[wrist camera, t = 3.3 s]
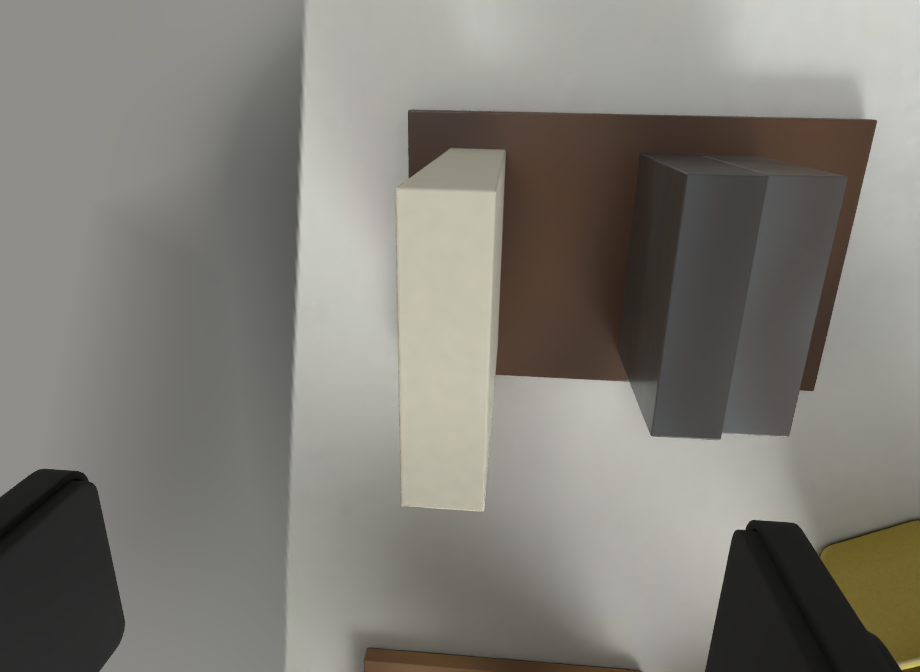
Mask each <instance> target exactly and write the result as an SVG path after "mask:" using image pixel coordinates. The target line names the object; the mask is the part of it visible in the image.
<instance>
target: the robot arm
mask: <svg viewBox="0 0 920 672" xmlns="http://www.w3.org/2000/svg"><path fill="white" fill-rule="evenodd" d="M124 627H125V619H124V615H123V610H122V605H121V600H120V596H119V591H118V586H117V581H116V576H115V571H114V567H113V562H112V558H111V552H110V548H109V543H108V538H107V534H106V529H105V524H104V519H103V514H102V510H101V505H100V500H99V496H98V491H97V488H96V486H95V485H94V484H93V483H91V482H89V481H88V478H87V477H86V476H85V474H84V473H81V472H79V471H68V470H54V469H40V470H37V471H35V472H34V473H32V474H31V475H29V476H28V477H27V478H25V479H24V480H23V481H21V482H20V483H18V484H17V485H16V486H14V487H13V488H12V489H10V490H9V491H8V492H7V493H5V494H4V495H3V496H1V497H0V672H99V671H100V670H101V668H102V667H103V666H104V664H105V663H106V662H107V660H108V659H109V658H110V656H111V655H112V654H113V652H114V651H115V650H116V648H117V647H118V645H119V644H120V641H121V639H122V636H123V633H124ZM705 672H903V671H902V670H901V668H900V667H899V665H898V664H897V662H896V661H895V659H894V658H893V656H892V655H891V653H890V652H889V650H888V649H887V647H886V646H885V645H884V644H883V643H882V641H881V640H880V639H879V638H878V637H877V636H876V635H874V634H873V633H871V632H869V631H867V630H866V628H865V627H864V625H863V624H862V622H861V621H860V619H859V617H858V616H857V614H856V613H855V611H854V610H853V608H852V607H851V605H850V604H849V602H848V600H847V599H846V597H845V596H844V594H843V593H842V591H841V590H840V588H839V587H838V585H837V583H836V582H835V580H834V579H833V577H832V576H831V574H830V573H829V571H828V569H827V568H826V566H825V565H824V563H823V562H822V560H821V559H820V557H819V556H818V554H817V552H816V551H815V549H814V548H813V546H812V545H811V543H810V542H809V540H808V539H807V537H806V535H805V534H804V532H803V531H802V529H801V528H800V527H799V526H798V525H797V524H795V523H787V522H773V521H760V520H752V521H750V522H749V523H748V525H747V527H746V530H736V531H735V532H734V534H733V537H732V541H731V546H730V551H729V556H728V560H727V565H726V570H725V575H724V580H723V585H722V590H721V595H720V600H719V605H718V610H717V615H716V620H715V625H714V630H713V635H712V640H711V645H710V650H709V655H708V660H707V665H706V669H705Z"/></svg>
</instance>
